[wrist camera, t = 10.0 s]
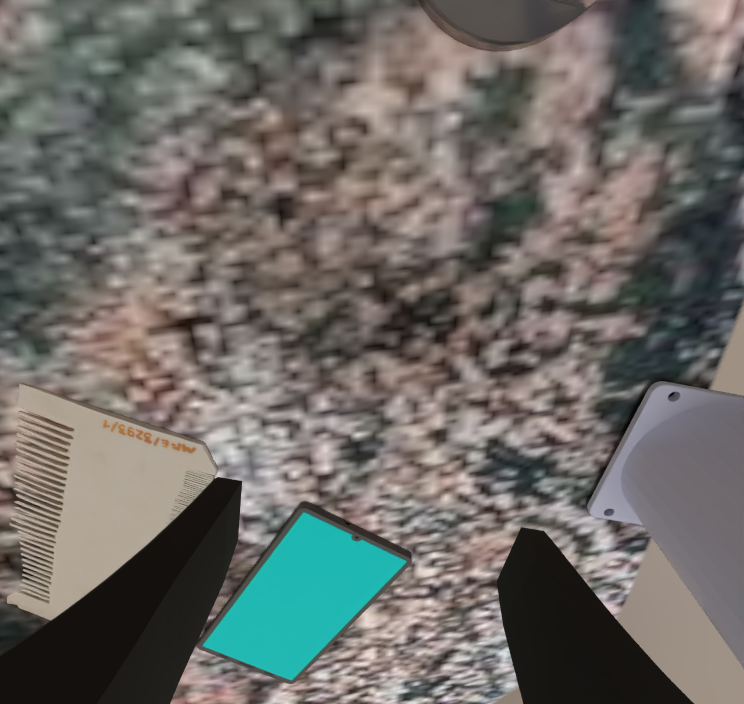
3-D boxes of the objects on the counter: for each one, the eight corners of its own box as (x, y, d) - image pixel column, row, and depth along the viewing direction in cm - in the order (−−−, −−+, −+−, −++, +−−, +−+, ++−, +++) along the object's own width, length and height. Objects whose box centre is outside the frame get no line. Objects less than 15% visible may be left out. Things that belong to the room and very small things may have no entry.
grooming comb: (25, 375, 21) (12, 382, 20) (227, 444, 22) (222, 454, 21) (8, 600, 28) (-1, 611, 27) (161, 641, 29) (155, 653, 29)
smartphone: (195, 648, 28) (301, 506, 22) (200, 635, 29) (304, 494, 23) (293, 686, 29) (415, 561, 24) (295, 672, 30) (414, 548, 25)
